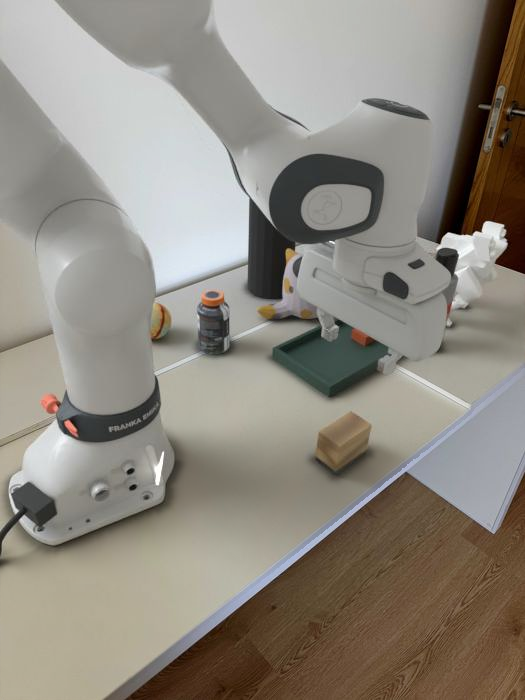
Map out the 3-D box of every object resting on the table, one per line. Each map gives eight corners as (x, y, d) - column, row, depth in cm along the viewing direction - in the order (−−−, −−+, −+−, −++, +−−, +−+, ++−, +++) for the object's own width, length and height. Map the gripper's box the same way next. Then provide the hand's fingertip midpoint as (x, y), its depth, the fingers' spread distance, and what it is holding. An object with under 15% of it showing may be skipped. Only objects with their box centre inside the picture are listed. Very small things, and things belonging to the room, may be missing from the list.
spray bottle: (440, 354, 104) (467, 259, 92) (410, 350, 104) (433, 255, 93) (439, 338, 108) (463, 245, 97) (410, 334, 109) (431, 242, 98)
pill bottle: (236, 346, 103) (236, 294, 97) (213, 359, 100) (212, 306, 93) (214, 334, 107) (213, 283, 100) (191, 346, 103) (189, 293, 97)
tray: (328, 397, 92) (330, 386, 91) (271, 357, 101) (272, 347, 99) (406, 352, 104) (408, 342, 103) (349, 320, 113) (350, 310, 111)
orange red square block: (364, 346, 104) (366, 337, 102) (350, 338, 106) (352, 329, 105) (376, 340, 106) (377, 331, 104) (362, 332, 108) (363, 323, 106)
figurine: (353, 312, 111) (331, 253, 102) (281, 353, 110) (253, 298, 101) (328, 287, 120) (306, 231, 111) (262, 325, 120) (234, 272, 111)
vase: (301, 290, 123) (312, 154, 106) (267, 303, 117) (273, 162, 100) (271, 273, 129) (278, 143, 112) (238, 285, 124) (239, 150, 106)
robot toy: (432, 287, 126) (452, 203, 115) (493, 306, 120) (521, 220, 108) (399, 320, 113) (418, 230, 102) (466, 344, 107) (494, 251, 95)
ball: (139, 348, 102) (136, 317, 98) (133, 329, 107) (129, 298, 103) (176, 342, 104) (174, 311, 100) (167, 323, 109) (165, 293, 105)
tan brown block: (366, 453, 81) (372, 424, 78) (334, 475, 78) (339, 447, 74) (346, 438, 84) (351, 410, 81) (314, 460, 80) (318, 431, 77)
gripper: (289, 232, 66) (283, 327, 74) (430, 297, 54) (405, 404, 62) (325, 221, 70) (315, 313, 77) (465, 280, 57) (436, 382, 65)
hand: (356, 354), depth 69 cm, fingers open, 8 cm apart
